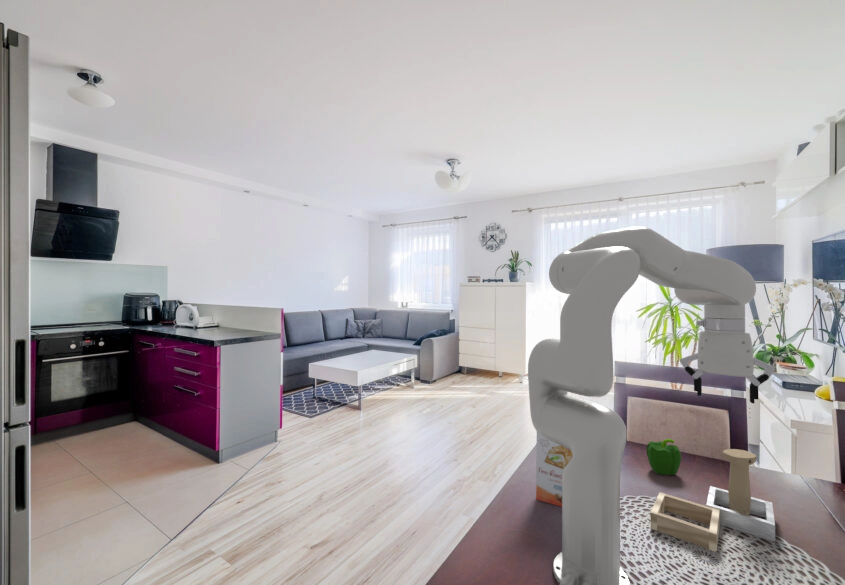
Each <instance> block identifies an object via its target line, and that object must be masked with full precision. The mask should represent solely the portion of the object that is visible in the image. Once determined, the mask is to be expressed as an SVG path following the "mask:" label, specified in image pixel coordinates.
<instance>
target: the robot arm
mask: <svg viewBox="0 0 845 585" xmlns="http://www.w3.org/2000/svg"><path fill="white" fill-rule="evenodd" d="M639 276H640V277H643V278H645V279H646V280H648V281H650V282H652V283H654V284H655V285H658V286H660V287H665V288H671V289H673V290H674V294H675V296H676V298H677V299H678V300H679V301H680V302H682V303H684V304H687V305H691V306H692V305H693V306H694V305H695V306H703V307H704V308H703V310H704V312H703V316H704V317H703V318H702V319H700V320H699V319H697V320H696V326H697V327H698V326H699V327H702V328H703V329H704V330H702V329H701V330H700V332H699V337H698V344H697V352H695V353H694V354H691V355H688V356H684V357H682V358H680V359H679V362H680V364H681V365H682V367H683V368H684V370H685V372H686V373H687V374H688V375H689V376H691V377H692V378H693V391H694V392H697V393H696V394H697V397H700V396H702V394H703V391H702V390H703V386H702V385H703V383H702V378H701V376H702V375H704V374H712V375H723V376H730V377H741V378H747V380H749V382H750V383H749V403H751V404H755V400H759V387H760V385H762V384H763V383H765V382H767V381H768V380H769V379H770V377H772V375H773V374H774V372H775V371H776V368H775V367H774V366H773V365H771V364H769V363H767V362H764V361H762V360H760V359H758V358H756V357H754V351H753V342H752V338H751V334H750V332H746V305H747V304H749V303H750V302H751V301H752V300H753V299H754V297H755V295H756V292H757V284H756V281H755V279H754V278H753V276H752V274H751V273H750V272H749V271H748V270H747V269H746V268H744V266H742V265H740V264H738V263H737V262H735V261H733V260H730V259H727V258H725V257H724V258H723V257H720V256H716V255H715V256H714V255H710V254H707V253H705V254H704V253H702V252H701V253H700V252H696V251H691V250H685V249H684V248H682V247H680V246H679V245H677V244H675V243H674V242H672V241H670V240H669V239H667V238H666V237H664V236H663V235H662V234H660V233H658V232H657V231H656V230H654V229H651V228H649V227H646V226H631V227H630V226H629V227H626V228H619V229H614V230H607V231H603V232H599V233H596V234H594V235H591V236H590V237H588V238H586V239H584V240H583V241H580V242H578V243H576V244H575V245H573V246H572V247H569V248H568V249H566V250H565V251H563V252H561V253H559V254H558V255H557V256H556V257H554V258H553V260H552V262H551V264H550V267H549V271H548V278H549V282H550V284H551V285H552V287H553V288H554V289H555V290H557V291H558V292H560V293H562V294H566V295H568V297H567V299H566V300H565V302H564V304H563V306H562V309H561V313H560V315H559V316H560V317H559V338H547V339H542V340H540V341H539V342H538V343H536V344H535V346H534V347H533V348H532V350H531V353H530V354H529V357H528V363H527V380H528V394H529V395H528V396H529V410H530V411H529V412H530V419H531V423H532V426H533V428H534V429H535V431H536V433H537V432H538V433H539V434H540V435H541V436H543V437H545V438H546V439H548V440H550V441H553V442H555V443H557V444H559V445H561V446H563V447H565V448H567V449H569V450H571V451H572V453H573V457H572V459H571V460H570V462H569V463H568V464H567V465H566V467H565V469H564V471H563V475H562V507H561V512H562V514H561V522H562V523H561V524H562V525H561V539H562V540H561V551H560V552H559V553H558V554H557V555H556V556H555V558H553V562H552V563H553V565H552V566H553V568H552V569H553V570H552V571H553V575H554V578H555V580H556V579H557V580H556V581H557V583H558V582H559V583H560V584H559V583H558V585H631V582H630V579H629V577H628V575H627V574H626V572H624V570H623V569H622V568H621V474H622V473H621V472H622V471H621V470H622V462H623V457H624V453H625V449H626V444H627V437H628V434H627V426H626V424H625V422H624V420H623V419H622V417H621V416H620V415H619V414H618V413H617V412H616V411H614V410H613V409H611V408H609V407H607V406H605V405H602V404H600V403H598V402H593V401H590V400H586V399H583V398H581V397H582V396H583V397H589V398H601V397H605V396H606V395H607V394H609V393H610V392H611V390H612V387H613V384H614V354H613V336H612V334H613V333H612V327H613V326H612V320H613V315H614V312H615V310H616V307H617V305H618V304H619V302H620V301H621V299H622V298H623V297H624V295H625V294H626V293H627V292H628V291H629V290H630V289H631V288H632V287H633V286H634V284H635V283H636V281H637V280H638V278H639ZM696 360H697V362H696V363H697V369H696V370H695V369H694V368H693V367H691V365H690V362H693V361H696ZM754 365H755V366H756V367H759V368H762V369H763V370H764V371H763V372H762V374H760V375H759V376H757V377H756V376H755V375H754V372H755V370H754V369H755V368H754V367H755V366H754ZM568 393H571V394H575V395H578V396H581V397H580V398H579V397H576V396H573V395H569V394H568Z"/></svg>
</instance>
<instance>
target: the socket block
mask: <svg viewBox="0 0 845 585" xmlns="http://www.w3.org/2000/svg"><path fill="white" fill-rule="evenodd" d="M728 497H729V496H728V490H727V489H723V488H721V487H715V486H712V485H710V486H709V489H708V495H707V500H706V504H705V506H708V507H711V508H715V509H718V510H720V525H721V526H723V527H726V528H730V529H731V530H732V529H733V530H736V531H739V532H742V533H746V534H749V535H751V536H754V537H757V538H760V539H764V540H767V541H770V542H773V541H774V543H776V522H775V513H774V506H773V502H771V501H767V500H763V499H760V498H757V497H753V496H751V507H750V513H749V515H747V514H744V513H740V512H737V511H734V510H730V506H729V498H728ZM719 505H720V506H719ZM725 507H726V508H725ZM753 515H754V516H753ZM763 518H764V519H763Z"/></svg>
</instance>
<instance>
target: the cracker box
mask: <svg viewBox="0 0 845 585" xmlns="http://www.w3.org/2000/svg"><path fill="white" fill-rule="evenodd" d="M572 457H573V453H572V451H571V450H569V449H567V448H565V447H563V446H561V445H559V444H557V443H555V442H553V441H550V440H548V439H546V438H545V437H543V436H541V435H540V434H539V433H538V432H537V431H536V462H535V463H536V466H535V468H536V470H535V474H536V476H535V478H536V481H535V485H536V486H535V487H536V488H535V490H536V491H535V492H536V493H535V498H536V499H535V500H537V501H540V502H544V503H547V504H551V505H555V506H558V507H560V508H562V475H563V471H564V469H565V467H566V465H567V464H568V463H569V462H570V460H571V459H572Z"/></svg>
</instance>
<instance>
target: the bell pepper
mask: <svg viewBox="0 0 845 585" xmlns="http://www.w3.org/2000/svg"><path fill="white" fill-rule="evenodd" d="M667 443H671V444H667ZM674 443H675V440H674V439H672V438H666V439H664V440H660V441H653V440H652V441H649V442H648V444H647V445H646V455H647V460H648V463H649V466H650V467H651V469H652V471H653V472H654V473H656V474H657V475H661V476H664V477H665V476H675V475H676V474H677V473H678V472H679V468H680V465H681V462H682V453H681V451H680V449H679V447H678V445H674Z"/></svg>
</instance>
